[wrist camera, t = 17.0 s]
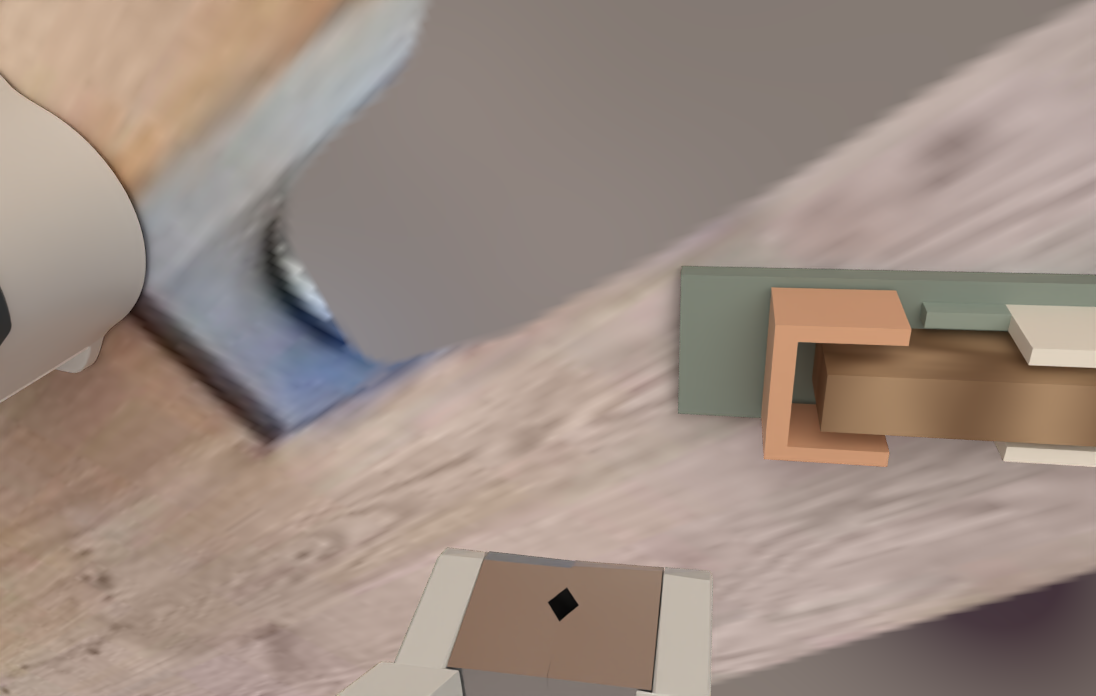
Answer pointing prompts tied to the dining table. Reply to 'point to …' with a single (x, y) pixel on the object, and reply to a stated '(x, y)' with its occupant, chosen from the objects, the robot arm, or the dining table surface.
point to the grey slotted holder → (929, 303)
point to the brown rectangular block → (953, 390)
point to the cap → (822, 321)
